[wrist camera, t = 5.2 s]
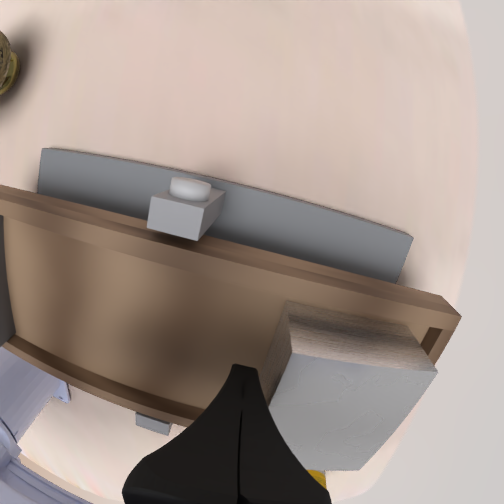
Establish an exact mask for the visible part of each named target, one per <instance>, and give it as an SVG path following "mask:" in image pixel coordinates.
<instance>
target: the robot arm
mask: <svg viewBox="0 0 504 504" xmlns="http://www.w3.org/2000/svg"><path fill="white" fill-rule="evenodd" d="M52 396H54V397H56V398H58V399H59V400H61V401H63V402H65V403H69V402H70V397H69V392H68V388H67V383H66V382H64V381H62V380H60V379H58V378H56V377H54V376H52V375H50V374H48V373H46V372H44V371H42V370H41V369H39V368H37V367H35V366H33V365H32V364H30V363H28V362H26V361H25V360H23V359H21V358H19V357H18V356H16V355H14V354H13V353H11V352H10V351H8V350H6V349H5V348H3V347H2V346H1V347H0V504H92V503H90V502H88V501H86V500H84V499H82V498H80V497H78V496H76V495H74V494H72V493H70V492H68V491H66V490H64V489H62V488H61V487H59V486H57V485H55V484H53V483H52V482H50V481H48V480H46V479H45V478H43V477H41V476H40V475H38V474H36V473H35V472H33V471H32V470H30V469H29V468H27V467H26V466H24V465H23V464H21V461H20V459H19V457H18V455H19V454H20V452H21V451H22V450H21V448H20V447H19V446H18V445H17V443H18V442H19V440H20V439H21V437H22V436H23V435H24V433H25V432H26V430H27V429H28V428H29V426H30V425H31V424H32V422H33V421H34V420H35V418H36V417H37V415H38V414H39V413H40V411H41V410H42V409H43V407H44V406H45V405H46V403H47V402H48V401H49V400H50V398H51V397H52ZM122 495H123V499H124V502H125V504H332V503H331V499H330V495H329V492H328V491H327V490H326V489H325V488H324V487H323V486H322V485H321V484H320V483H319V482H318V481H316V480H315V479H314V478H313V477H312V476H311V474H310V473H309V472H308V471H307V470H306V469H305V468H304V467H303V465H302V464H301V463H300V462H299V460H298V459H297V458H296V456H295V455H294V454H293V453H292V451H291V450H290V448H289V447H288V445H287V444H286V442H285V440H284V439H283V437H282V435H281V434H280V432H279V430H278V428H277V426H276V424H275V422H274V420H273V418H272V415H271V413H270V411H269V408H268V405H267V403H266V400H265V397H264V394H263V391H262V388H261V384H260V380H259V376H258V371H257V369H256V368H253V367H248V366H244V365H240V364H236V363H235V364H233V365H232V367H231V370H230V373H229V376H228V378H227V380H226V381H225V383H224V385H223V386H222V388H221V389H220V391H219V392H218V394H217V395H216V397H215V398H214V399H213V401H212V402H211V403H210V404H209V406H208V407H207V408H206V409H205V410H204V412H203V413H202V414H201V415H200V416H199V417H198V418H197V419H196V420H195V421H194V422H193V423H192V424H191V425H190V426H188V427H187V428H186V429H185V430H184V431H183V432H182V433H180V434H179V435H178V436H177V437H175V438H174V439H172V440H171V441H170V442H168V443H167V444H166V445H164V446H163V447H161V448H159V449H158V450H156V451H154V452H153V453H151V454H149V455H147V456H146V457H144V458H143V459H142V460H141V461H140V462H139V463H138V464H137V465H136V466H135V468H134V469H133V470H132V471H131V473H130V474H129V476H128V477H127V479H126V481H125V484H124V486H123V489H122Z"/></svg>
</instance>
